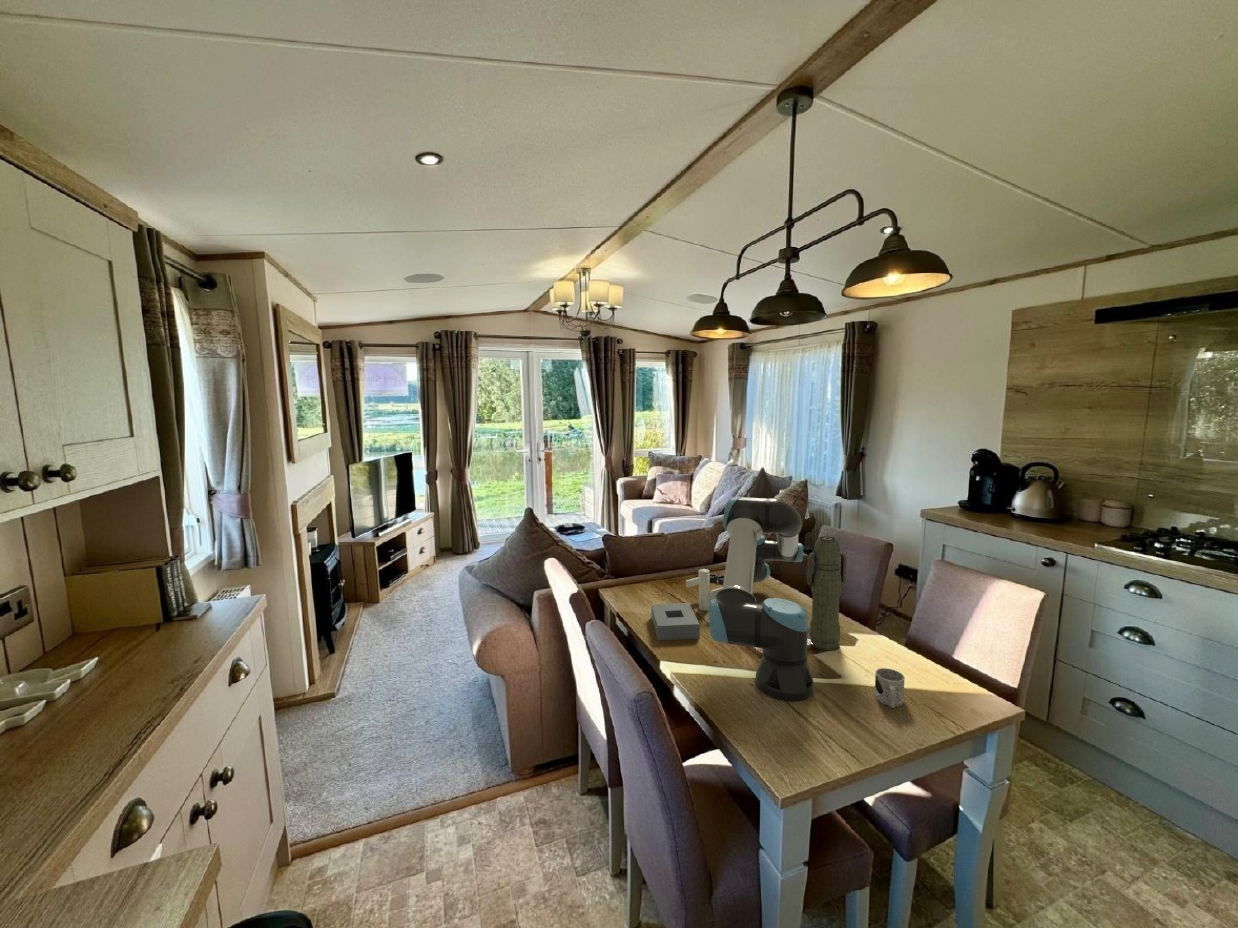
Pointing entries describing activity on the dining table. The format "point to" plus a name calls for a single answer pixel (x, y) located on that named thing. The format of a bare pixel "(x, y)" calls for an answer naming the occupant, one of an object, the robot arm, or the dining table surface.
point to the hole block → (675, 621)
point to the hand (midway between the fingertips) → (698, 589)
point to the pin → (704, 589)
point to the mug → (889, 687)
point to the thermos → (826, 592)
